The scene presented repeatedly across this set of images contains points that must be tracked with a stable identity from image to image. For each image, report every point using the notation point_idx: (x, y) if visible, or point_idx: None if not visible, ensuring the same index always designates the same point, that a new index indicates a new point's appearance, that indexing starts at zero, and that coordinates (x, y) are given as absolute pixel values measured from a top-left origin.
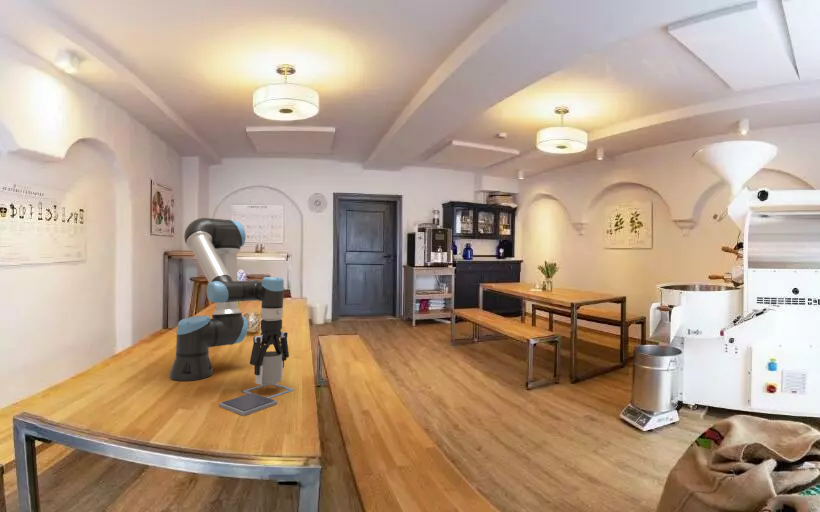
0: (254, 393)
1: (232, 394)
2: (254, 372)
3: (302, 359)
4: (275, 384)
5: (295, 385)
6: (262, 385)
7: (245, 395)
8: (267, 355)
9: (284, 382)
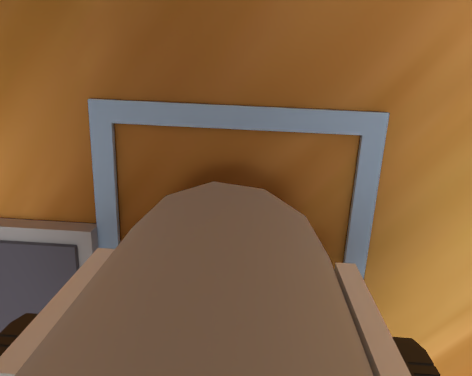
0: (90, 253)
1: (11, 87)
2: (3, 331)
3: None
4: (365, 184)
5: (442, 301)
6: (282, 120)
7: (10, 253)
8: (297, 368)
9: (464, 186)
